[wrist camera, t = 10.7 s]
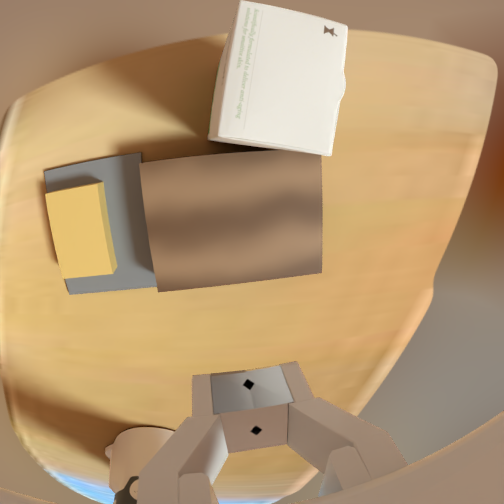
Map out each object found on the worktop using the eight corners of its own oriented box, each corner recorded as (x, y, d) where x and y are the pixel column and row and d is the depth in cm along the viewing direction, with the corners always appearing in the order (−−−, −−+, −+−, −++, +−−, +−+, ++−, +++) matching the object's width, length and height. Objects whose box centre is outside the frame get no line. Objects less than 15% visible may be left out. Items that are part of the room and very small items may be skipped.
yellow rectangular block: (62, 279, 28) (69, 271, 30) (112, 273, 29) (117, 266, 31) (44, 194, 25) (53, 191, 27) (97, 183, 26) (103, 181, 28)
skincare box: (218, 63, 26) (236, -9, 12) (283, 74, 28) (353, 21, 13) (205, 143, 29) (210, 137, 14) (272, 152, 30) (337, 158, 15)
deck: (308, 259, 34) (321, 272, 31) (162, 275, 32) (158, 292, 29) (306, 148, 30) (320, 149, 27) (147, 161, 28) (139, 163, 25)
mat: (159, 284, 33) (159, 286, 32) (70, 293, 31) (69, 294, 31) (141, 152, 28) (140, 152, 28) (45, 171, 26) (44, 171, 26)
